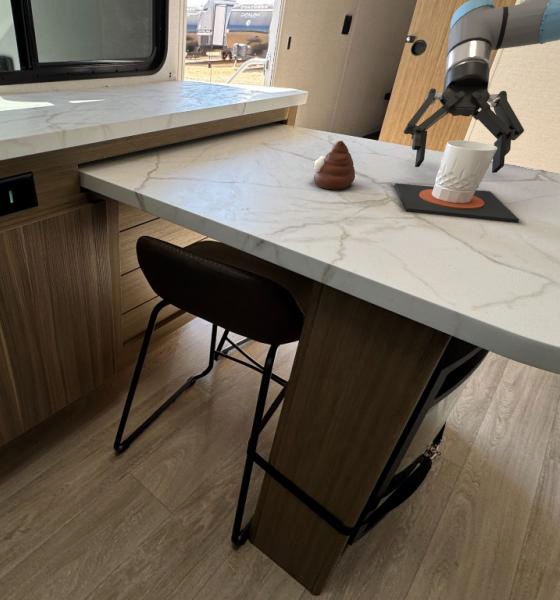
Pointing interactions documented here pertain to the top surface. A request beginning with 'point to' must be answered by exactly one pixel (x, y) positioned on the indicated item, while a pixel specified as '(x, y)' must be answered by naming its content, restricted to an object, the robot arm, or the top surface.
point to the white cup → (462, 170)
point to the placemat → (453, 204)
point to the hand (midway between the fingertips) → (457, 166)
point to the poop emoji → (335, 168)
